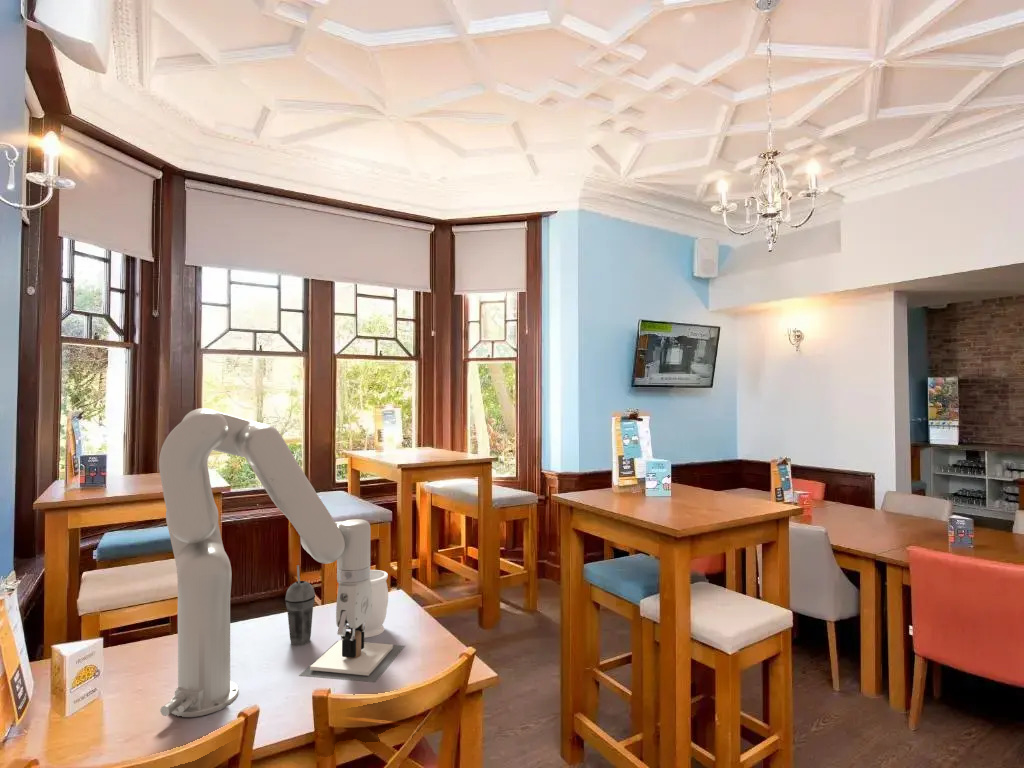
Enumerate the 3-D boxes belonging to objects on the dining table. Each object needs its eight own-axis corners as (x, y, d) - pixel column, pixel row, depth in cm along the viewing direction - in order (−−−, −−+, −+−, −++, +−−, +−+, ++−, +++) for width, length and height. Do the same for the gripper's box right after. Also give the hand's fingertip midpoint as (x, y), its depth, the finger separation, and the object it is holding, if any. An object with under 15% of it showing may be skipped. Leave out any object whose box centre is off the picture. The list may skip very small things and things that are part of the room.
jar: (342, 641, 146) (342, 582, 146) (352, 624, 156) (351, 569, 157) (384, 640, 146) (384, 581, 147) (391, 624, 157) (391, 568, 157)
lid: (368, 675, 127) (368, 649, 127) (310, 669, 129) (310, 643, 129) (392, 647, 140) (393, 624, 141) (339, 643, 143) (339, 619, 143)
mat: (375, 684, 125) (375, 682, 125) (298, 677, 128) (298, 675, 128) (405, 647, 142) (405, 645, 142) (337, 642, 145) (337, 640, 145)
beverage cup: (320, 637, 148) (320, 560, 149) (307, 650, 141) (307, 568, 141) (293, 636, 149) (293, 559, 149) (279, 649, 142) (279, 568, 142)
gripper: (352, 586, 126) (352, 670, 126) (383, 564, 143) (382, 639, 142) (321, 584, 128) (320, 667, 127) (354, 562, 144) (354, 636, 144)
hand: (353, 651), depth 135 cm, fingers closed on lid, 3 cm apart
